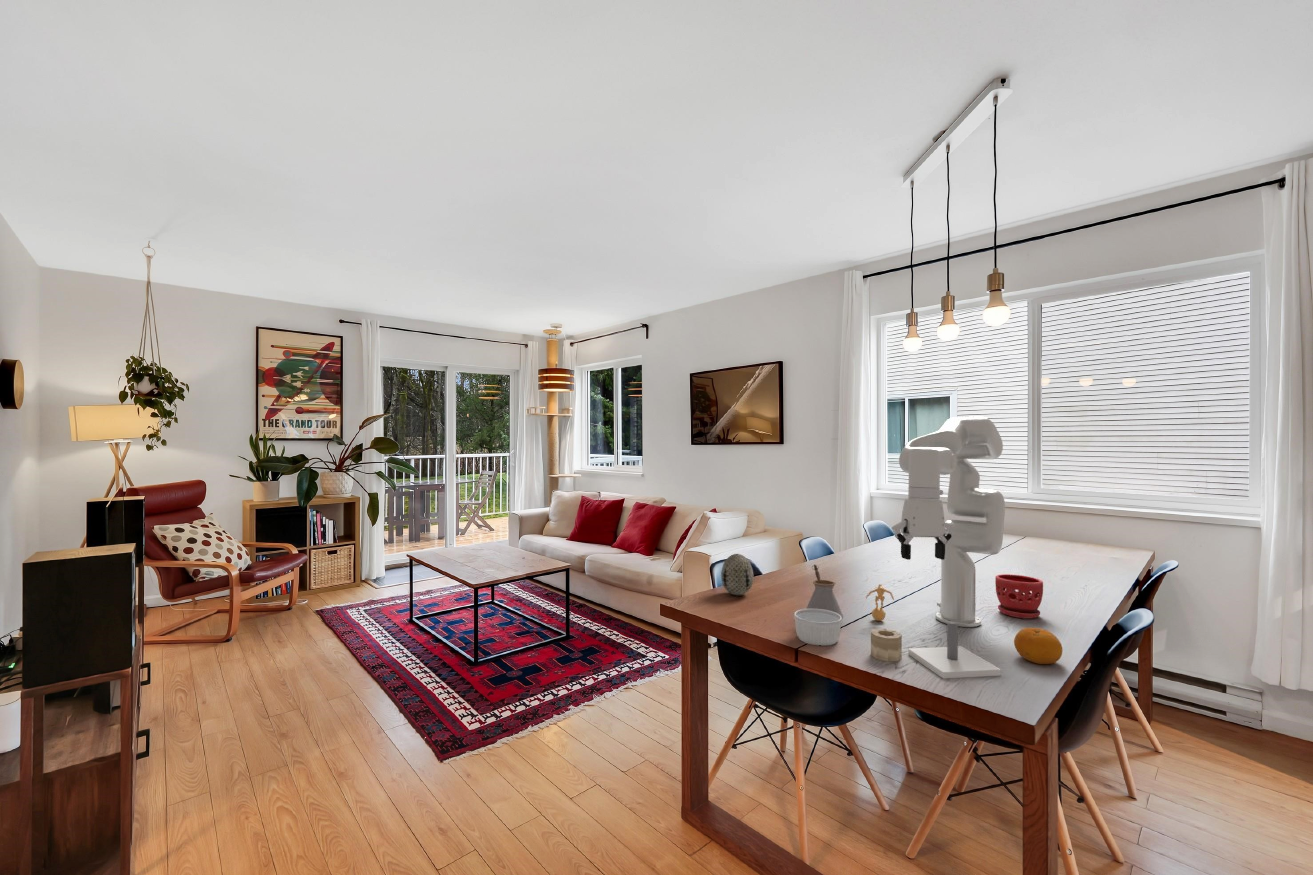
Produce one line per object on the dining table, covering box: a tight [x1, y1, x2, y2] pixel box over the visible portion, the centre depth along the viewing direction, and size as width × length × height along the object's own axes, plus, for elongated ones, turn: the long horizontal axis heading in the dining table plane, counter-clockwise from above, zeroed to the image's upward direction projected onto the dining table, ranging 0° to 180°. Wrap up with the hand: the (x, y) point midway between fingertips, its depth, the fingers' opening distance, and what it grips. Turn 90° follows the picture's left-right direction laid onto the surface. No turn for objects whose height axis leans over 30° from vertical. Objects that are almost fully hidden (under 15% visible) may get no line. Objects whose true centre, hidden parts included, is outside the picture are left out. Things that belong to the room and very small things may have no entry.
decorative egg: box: [720, 553, 754, 596], centre depth 205 cm, size 12×12×15 cm
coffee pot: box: [805, 564, 844, 620], centre depth 178 cm, size 21×12×15 cm, turn 174°
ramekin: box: [793, 608, 843, 647], centre depth 160 cm, size 13×13×7 cm
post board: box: [907, 622, 1002, 679], centre depth 143 cm, size 15×15×10 cm
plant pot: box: [994, 573, 1044, 620], centre depth 183 cm, size 13×13×12 cm
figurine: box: [865, 583, 895, 622], centre depth 175 cm, size 8×6×12 cm
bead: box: [870, 628, 903, 663], centre depth 148 cm, size 7×7×6 cm
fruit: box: [1013, 627, 1063, 665], centre depth 145 cm, size 10×10×8 cm
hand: (922, 558), depth 148 cm, fingers open, 9 cm apart
